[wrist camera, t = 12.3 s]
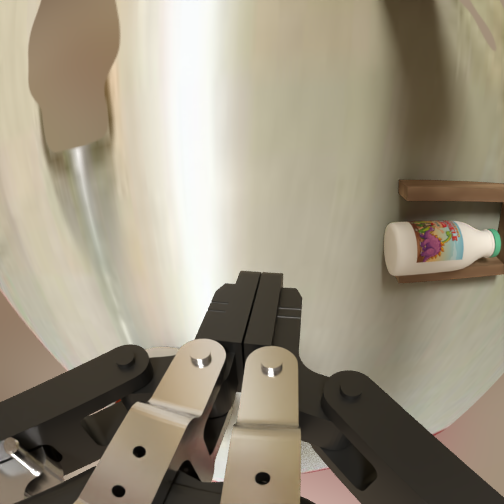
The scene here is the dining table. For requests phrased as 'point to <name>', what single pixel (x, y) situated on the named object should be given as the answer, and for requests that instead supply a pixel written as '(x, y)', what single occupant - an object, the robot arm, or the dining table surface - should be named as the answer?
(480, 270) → the walnut U-rest
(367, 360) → the dining table surface
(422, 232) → the milk bottle
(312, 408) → the robot arm
